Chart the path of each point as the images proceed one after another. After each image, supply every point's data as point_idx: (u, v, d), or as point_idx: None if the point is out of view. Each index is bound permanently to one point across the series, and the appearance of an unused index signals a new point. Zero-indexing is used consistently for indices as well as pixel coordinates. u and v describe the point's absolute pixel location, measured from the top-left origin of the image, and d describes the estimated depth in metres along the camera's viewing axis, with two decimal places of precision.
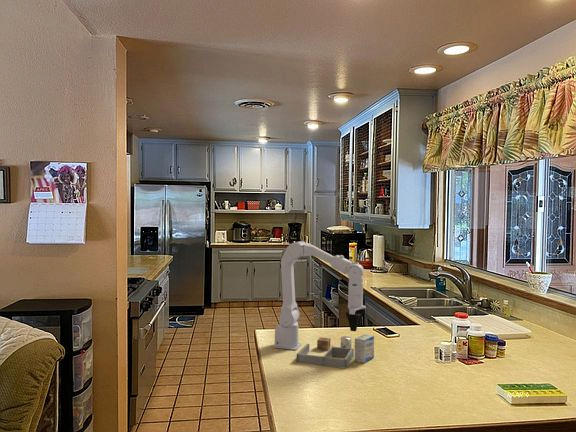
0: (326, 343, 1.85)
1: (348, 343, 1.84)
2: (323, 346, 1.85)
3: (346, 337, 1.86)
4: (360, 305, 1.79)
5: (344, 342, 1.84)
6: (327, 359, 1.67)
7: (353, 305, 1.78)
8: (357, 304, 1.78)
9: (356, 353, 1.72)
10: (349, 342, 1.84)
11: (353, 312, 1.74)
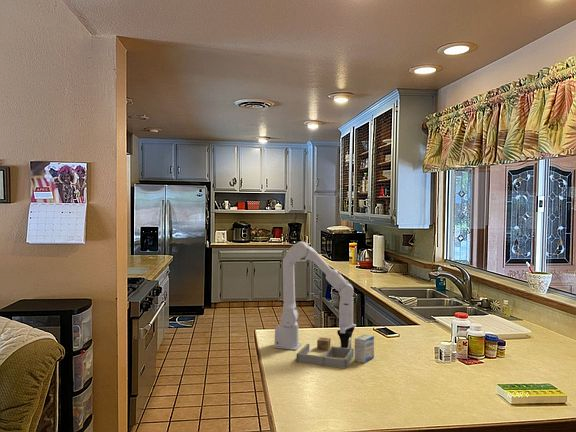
0: (326, 343, 1.85)
1: (348, 343, 1.84)
2: (323, 346, 1.85)
3: None
4: (350, 324, 1.84)
5: None
6: (327, 359, 1.67)
7: (344, 324, 1.83)
8: (348, 323, 1.83)
9: (356, 353, 1.72)
10: (349, 342, 1.84)
11: (343, 331, 1.79)
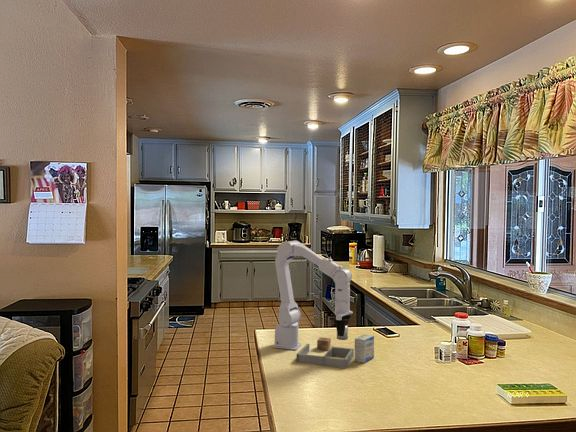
0: (326, 343, 1.85)
1: (345, 331, 1.77)
2: (323, 346, 1.85)
3: None
4: (347, 310, 1.76)
5: None
6: (327, 359, 1.67)
7: (340, 311, 1.76)
8: (344, 309, 1.76)
9: (356, 353, 1.72)
10: (346, 330, 1.77)
11: (340, 318, 1.71)
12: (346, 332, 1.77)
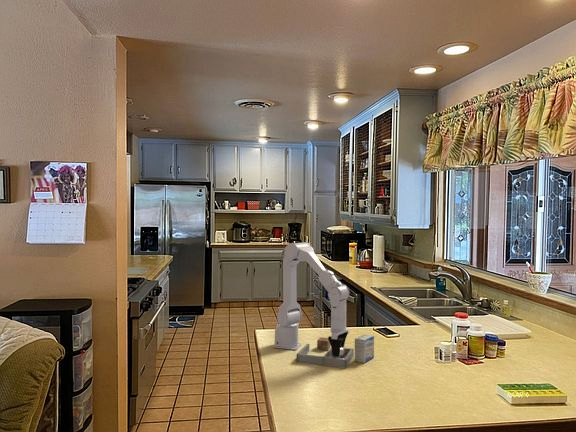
0: (326, 343, 1.85)
1: (341, 354, 1.71)
2: (323, 346, 1.85)
3: None
4: (343, 329, 1.70)
5: None
6: (327, 359, 1.67)
7: (336, 329, 1.70)
8: (340, 328, 1.70)
9: (356, 353, 1.72)
10: (342, 352, 1.71)
11: (335, 337, 1.66)
12: (342, 354, 1.71)
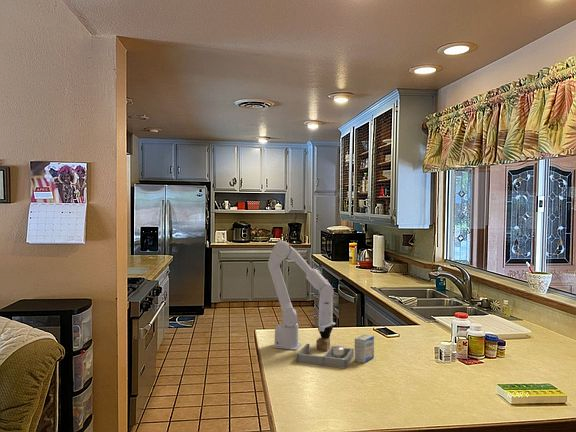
0: (325, 343, 1.84)
1: (341, 354, 1.71)
2: (322, 346, 1.84)
3: (339, 347, 1.73)
4: (330, 322, 1.88)
5: (336, 353, 1.71)
6: (327, 359, 1.67)
7: (323, 322, 1.87)
8: (327, 321, 1.87)
9: (356, 353, 1.72)
10: (342, 352, 1.71)
11: (322, 329, 1.83)
12: (342, 354, 1.71)
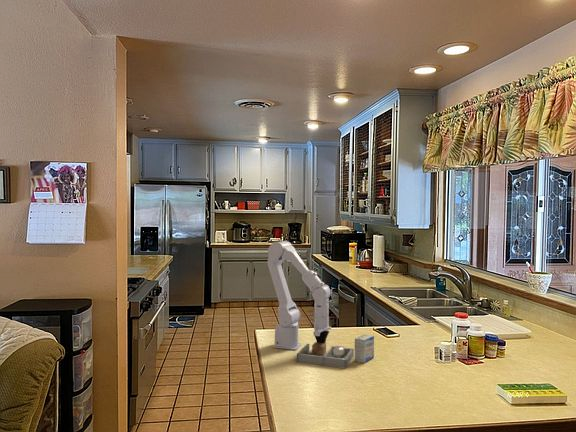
0: (321, 348, 1.77)
1: (341, 354, 1.71)
2: (318, 352, 1.78)
3: (339, 347, 1.73)
4: (326, 326, 1.81)
5: (336, 353, 1.71)
6: (327, 359, 1.67)
7: (319, 326, 1.81)
8: (322, 325, 1.80)
9: (356, 353, 1.72)
10: (342, 352, 1.71)
11: (318, 334, 1.76)
12: (342, 354, 1.71)
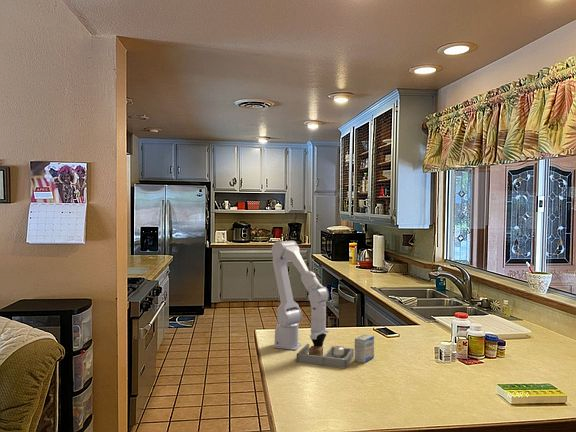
0: (318, 352, 1.73)
1: (341, 354, 1.71)
2: (315, 355, 1.73)
3: (339, 347, 1.73)
4: (323, 329, 1.77)
5: (336, 353, 1.71)
6: (327, 359, 1.67)
7: (315, 329, 1.76)
8: (319, 328, 1.76)
9: (356, 353, 1.72)
10: (342, 352, 1.71)
11: (314, 337, 1.72)
12: (342, 354, 1.71)
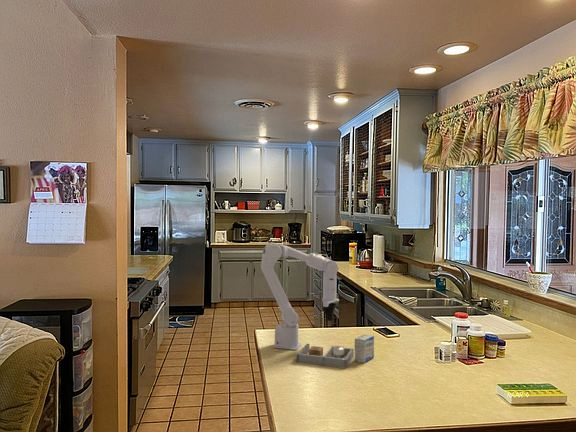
0: (318, 353, 1.73)
1: (341, 354, 1.71)
2: None
3: (339, 347, 1.73)
4: (334, 298, 1.90)
5: (336, 353, 1.71)
6: (327, 359, 1.67)
7: (327, 298, 1.89)
8: (331, 297, 1.89)
9: (356, 353, 1.72)
10: (342, 352, 1.71)
11: (326, 305, 1.85)
12: (342, 355, 1.71)
